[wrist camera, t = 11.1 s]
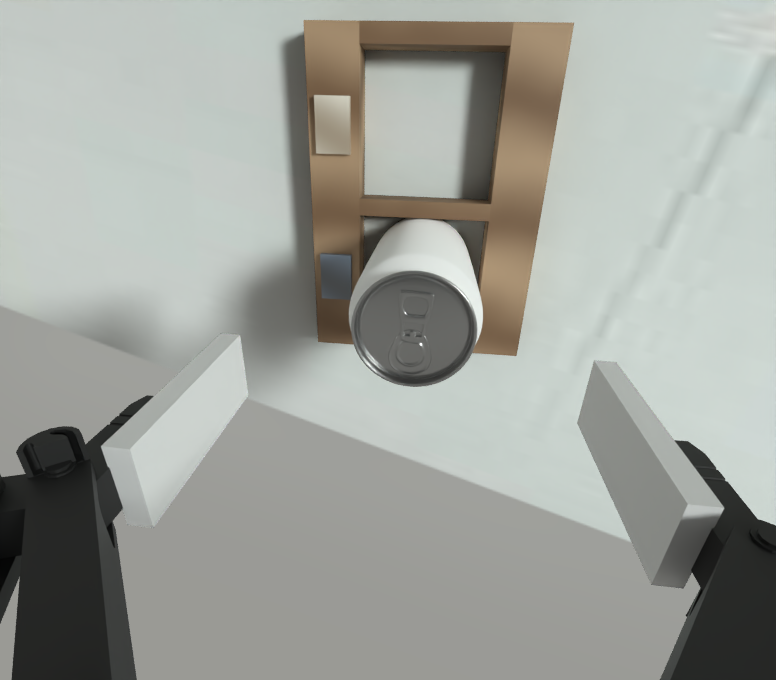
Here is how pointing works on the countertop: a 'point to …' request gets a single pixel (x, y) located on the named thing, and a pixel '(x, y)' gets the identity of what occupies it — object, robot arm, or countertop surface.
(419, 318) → the can
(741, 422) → the countertop surface
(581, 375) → the countertop surface
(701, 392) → the countertop surface
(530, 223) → the socket board
